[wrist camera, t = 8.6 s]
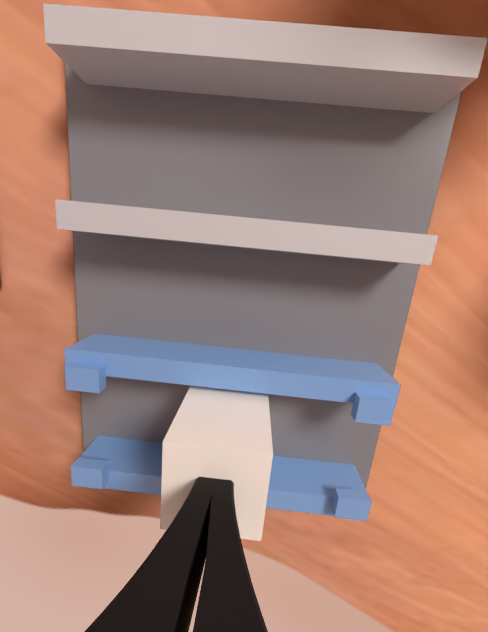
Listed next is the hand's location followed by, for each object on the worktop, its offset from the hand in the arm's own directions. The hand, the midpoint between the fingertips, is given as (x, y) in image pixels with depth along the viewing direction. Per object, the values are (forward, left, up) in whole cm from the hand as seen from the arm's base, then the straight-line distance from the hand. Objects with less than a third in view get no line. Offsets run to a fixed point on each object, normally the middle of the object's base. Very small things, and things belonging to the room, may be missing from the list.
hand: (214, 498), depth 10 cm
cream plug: (0, 0, -6) cm, 6 cm away
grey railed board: (0, +7, -7) cm, 10 cm away
